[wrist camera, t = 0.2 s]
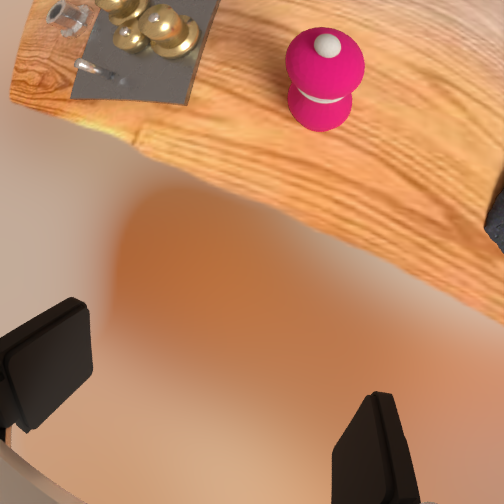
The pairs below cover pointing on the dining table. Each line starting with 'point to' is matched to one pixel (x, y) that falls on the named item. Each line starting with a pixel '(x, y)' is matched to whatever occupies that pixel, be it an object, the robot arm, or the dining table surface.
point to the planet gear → (70, 18)
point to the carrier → (144, 50)
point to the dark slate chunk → (496, 222)
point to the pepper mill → (323, 77)
